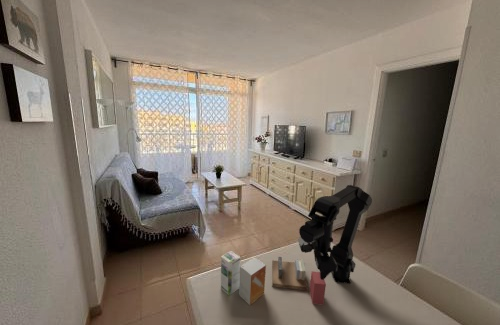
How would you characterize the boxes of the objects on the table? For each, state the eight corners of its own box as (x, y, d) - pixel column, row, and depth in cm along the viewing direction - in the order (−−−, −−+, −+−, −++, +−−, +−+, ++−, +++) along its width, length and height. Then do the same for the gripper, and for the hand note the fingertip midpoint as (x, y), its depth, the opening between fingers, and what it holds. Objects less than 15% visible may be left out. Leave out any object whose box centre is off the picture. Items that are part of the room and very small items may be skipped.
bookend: (281, 265, 94) (281, 257, 93) (281, 278, 86) (282, 269, 85) (277, 265, 94) (278, 256, 93) (278, 278, 86) (279, 269, 85)
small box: (250, 306, 74) (251, 275, 72) (238, 295, 79) (239, 266, 76) (264, 293, 80) (266, 264, 77) (253, 284, 84) (254, 256, 82)
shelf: (301, 266, 96) (302, 263, 95) (306, 290, 82) (307, 287, 82) (272, 263, 97) (272, 260, 97) (272, 286, 84) (272, 283, 83)
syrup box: (220, 288, 82) (220, 256, 79) (231, 280, 86) (231, 249, 83) (229, 296, 78) (229, 263, 75) (240, 287, 82) (241, 256, 79)
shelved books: (302, 268, 92) (302, 259, 91) (304, 280, 85) (305, 270, 84) (294, 267, 92) (295, 258, 92) (296, 279, 86) (297, 270, 85)
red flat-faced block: (319, 291, 82) (321, 272, 80) (323, 304, 76) (325, 284, 74) (309, 290, 82) (311, 271, 80) (312, 303, 76) (314, 283, 74)
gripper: (297, 218, 83) (294, 252, 86) (304, 246, 65) (300, 287, 68) (325, 220, 82) (321, 254, 85) (340, 249, 64) (335, 291, 67)
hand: (319, 269), depth 77 cm, fingers open, 9 cm apart
